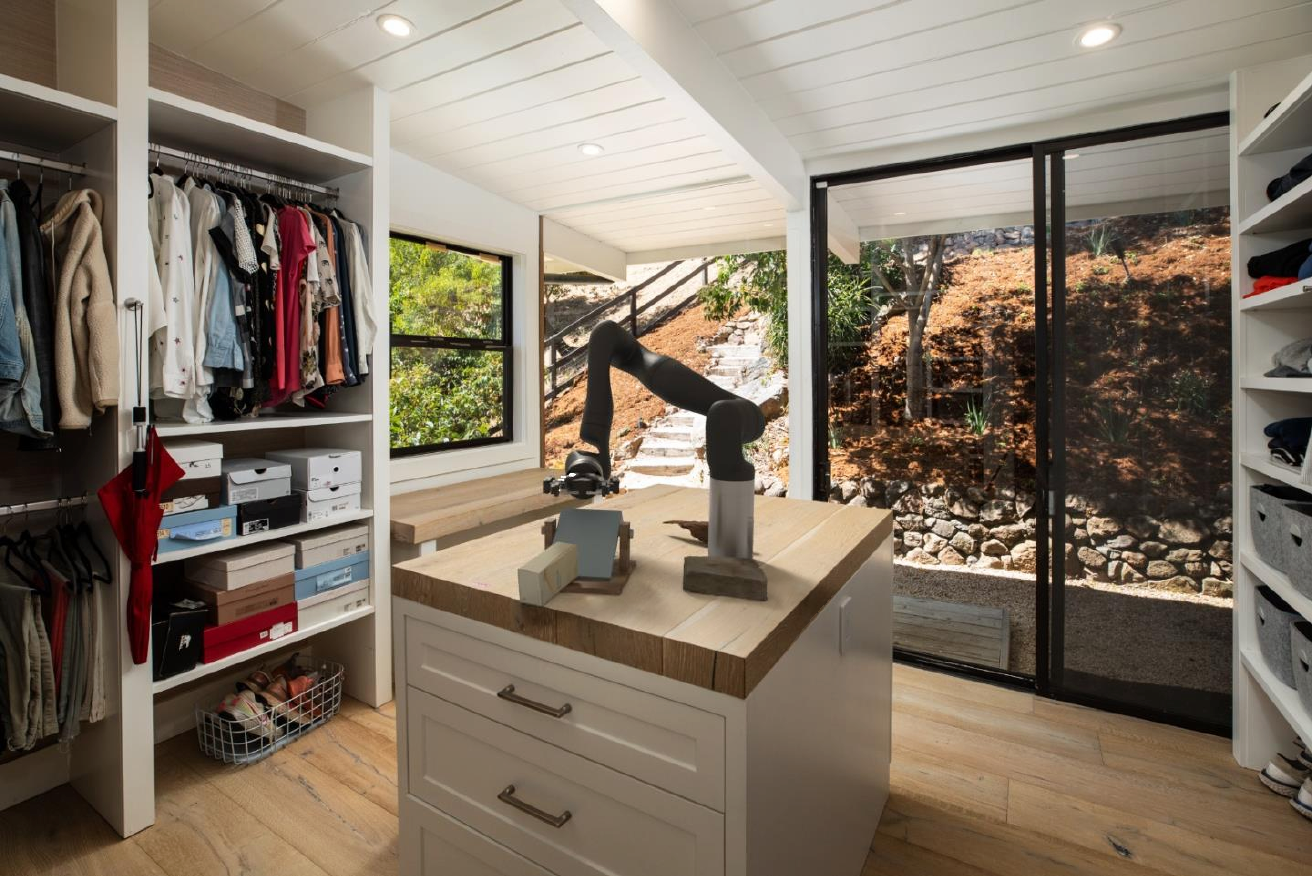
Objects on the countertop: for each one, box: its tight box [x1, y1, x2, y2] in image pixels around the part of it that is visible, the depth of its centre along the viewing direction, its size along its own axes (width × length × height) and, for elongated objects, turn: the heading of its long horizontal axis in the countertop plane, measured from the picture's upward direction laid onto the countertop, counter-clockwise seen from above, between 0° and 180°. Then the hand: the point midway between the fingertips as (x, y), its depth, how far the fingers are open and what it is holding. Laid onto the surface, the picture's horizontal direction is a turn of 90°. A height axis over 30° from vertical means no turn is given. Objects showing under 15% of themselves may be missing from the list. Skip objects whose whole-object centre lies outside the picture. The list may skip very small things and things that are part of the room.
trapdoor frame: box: [540, 517, 638, 596], centre depth 127 cm, size 19×18×10 cm
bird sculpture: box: [662, 519, 755, 544], centre depth 156 cm, size 7×25×5 cm, turn 54°
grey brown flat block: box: [682, 555, 769, 602], centre depth 124 cm, size 17×15×4 cm
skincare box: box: [517, 542, 578, 607], centre depth 116 cm, size 6×4×12 cm
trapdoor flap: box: [552, 507, 624, 581], centre depth 129 cm, size 15×12×4 cm
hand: (579, 491), depth 122 cm, fingers open, 8 cm apart
